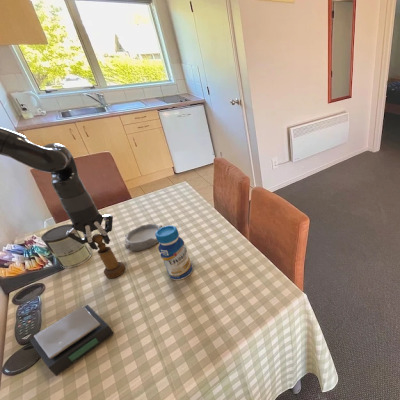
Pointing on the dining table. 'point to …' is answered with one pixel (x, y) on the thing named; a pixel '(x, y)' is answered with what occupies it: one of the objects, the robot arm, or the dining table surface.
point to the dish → (142, 237)
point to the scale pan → (66, 331)
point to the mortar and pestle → (108, 258)
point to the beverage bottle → (174, 253)
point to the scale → (75, 346)
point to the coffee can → (66, 247)
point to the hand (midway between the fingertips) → (101, 245)
